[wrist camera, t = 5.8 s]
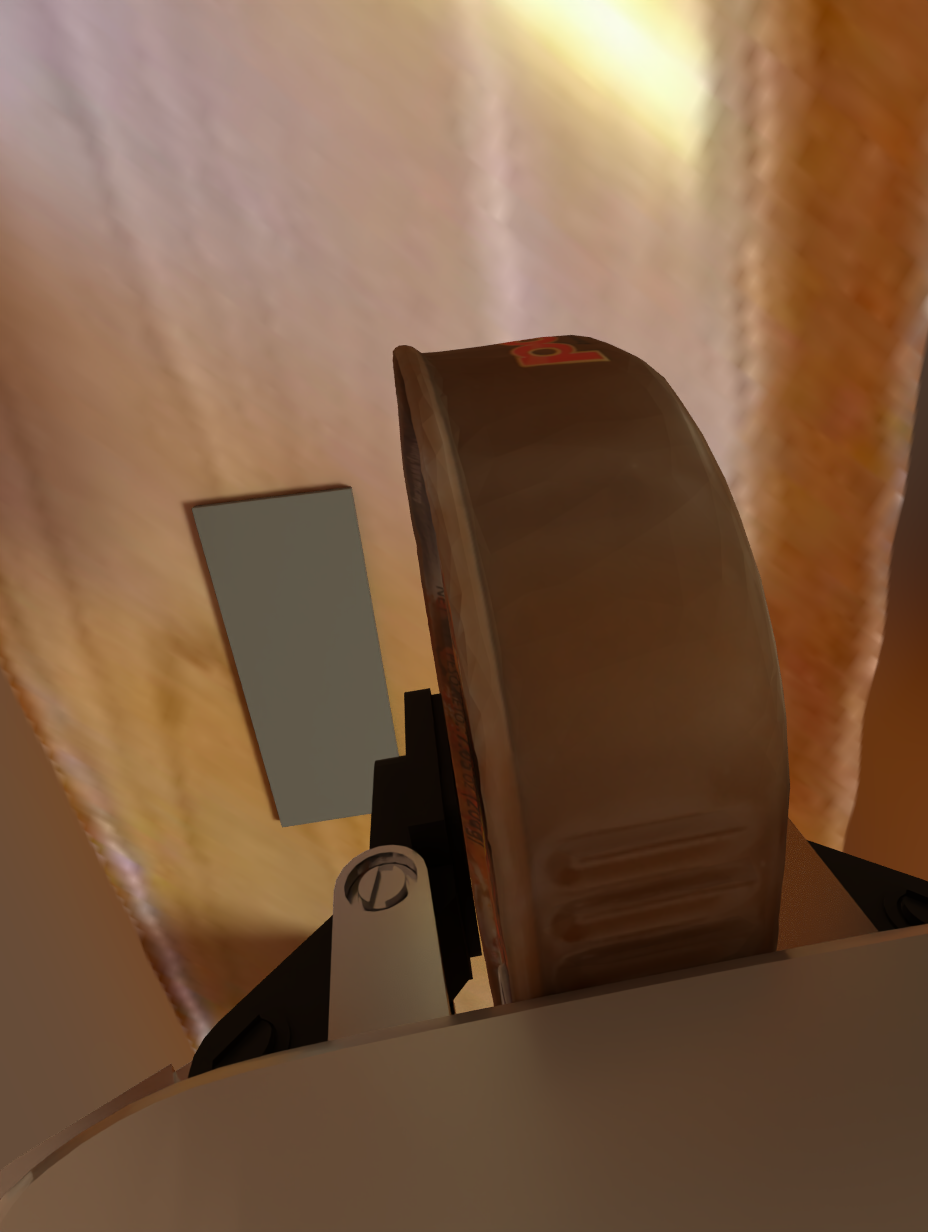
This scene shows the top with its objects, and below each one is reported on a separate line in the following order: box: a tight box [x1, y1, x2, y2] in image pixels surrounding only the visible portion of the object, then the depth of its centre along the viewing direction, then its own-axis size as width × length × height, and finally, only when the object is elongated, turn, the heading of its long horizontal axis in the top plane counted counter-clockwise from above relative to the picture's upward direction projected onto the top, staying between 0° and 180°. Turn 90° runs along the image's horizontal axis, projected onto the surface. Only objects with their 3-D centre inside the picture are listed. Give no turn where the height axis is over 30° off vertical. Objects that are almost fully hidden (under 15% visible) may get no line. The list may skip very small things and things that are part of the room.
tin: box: [393, 335, 790, 1006], centre depth 10 cm, size 15×3×8 cm, turn 7°
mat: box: [192, 487, 399, 827], centre depth 30 cm, size 18×7×1 cm, turn 6°
